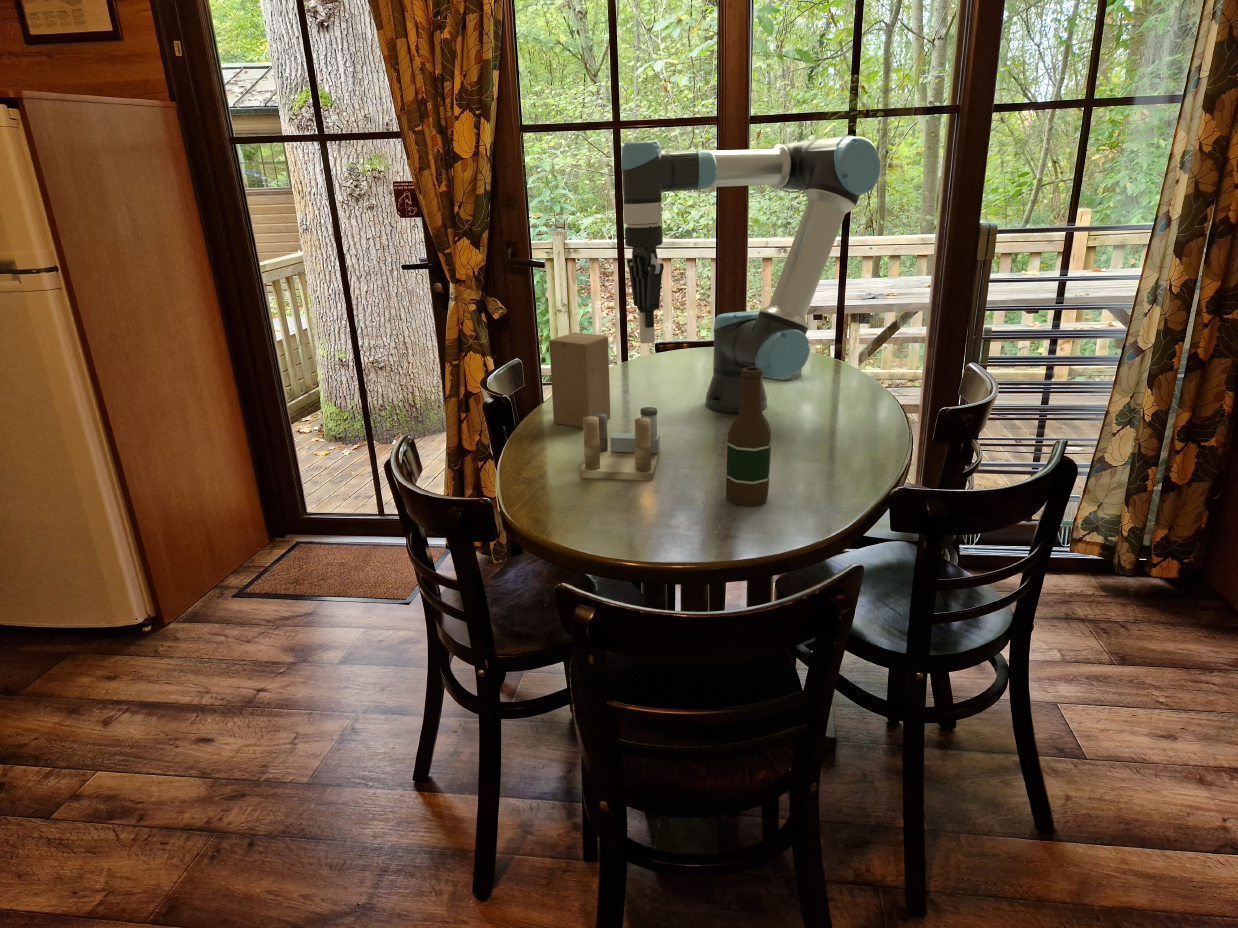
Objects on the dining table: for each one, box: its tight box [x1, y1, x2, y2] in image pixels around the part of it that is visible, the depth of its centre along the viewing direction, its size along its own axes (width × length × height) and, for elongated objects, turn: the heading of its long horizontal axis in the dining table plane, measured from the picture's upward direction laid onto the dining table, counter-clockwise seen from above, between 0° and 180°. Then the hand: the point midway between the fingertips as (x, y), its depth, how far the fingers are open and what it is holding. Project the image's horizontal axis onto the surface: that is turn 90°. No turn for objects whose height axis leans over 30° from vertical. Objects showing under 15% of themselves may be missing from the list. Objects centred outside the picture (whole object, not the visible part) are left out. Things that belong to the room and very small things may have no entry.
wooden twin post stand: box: [580, 414, 661, 481], centre depth 156 cm, size 14×14×12 cm
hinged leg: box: [609, 406, 661, 453], centre depth 160 cm, size 3×10×9 cm, turn 80°
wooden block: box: [548, 331, 611, 429], centre depth 184 cm, size 10×10×20 cm
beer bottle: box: [725, 367, 772, 508], centre depth 137 cm, size 8×8×24 cm
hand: (647, 342), depth 165 cm, fingers closed
